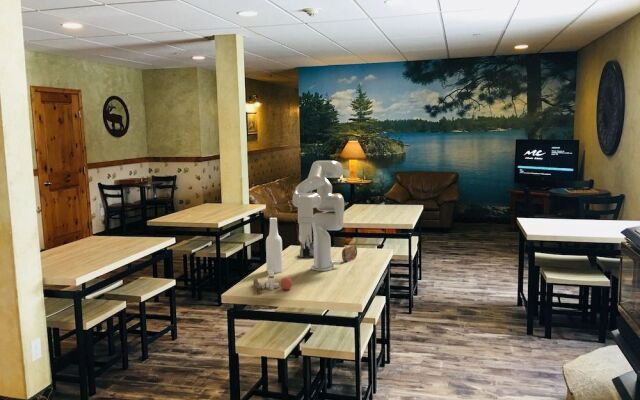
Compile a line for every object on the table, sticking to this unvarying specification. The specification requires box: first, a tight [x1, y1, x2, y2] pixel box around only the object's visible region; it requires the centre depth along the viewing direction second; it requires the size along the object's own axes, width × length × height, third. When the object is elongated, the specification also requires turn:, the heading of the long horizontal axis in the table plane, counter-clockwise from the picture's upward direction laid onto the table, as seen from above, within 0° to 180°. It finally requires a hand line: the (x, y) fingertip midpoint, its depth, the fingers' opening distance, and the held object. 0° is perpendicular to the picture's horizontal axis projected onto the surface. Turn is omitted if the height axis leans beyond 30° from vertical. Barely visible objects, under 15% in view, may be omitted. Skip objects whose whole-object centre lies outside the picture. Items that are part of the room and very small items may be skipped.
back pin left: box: [268, 272, 275, 291], centre depth 262 cm, size 2×2×8 cm
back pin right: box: [267, 270, 273, 284], centre depth 267 cm, size 2×2×8 cm
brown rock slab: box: [341, 244, 358, 263], centre depth 320 cm, size 15×3×8 cm, turn 148°
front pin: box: [260, 282, 280, 290], centre depth 265 cm, size 2×2×8 cm
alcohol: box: [265, 217, 284, 274], centre depth 295 cm, size 9×9×30 cm
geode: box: [299, 240, 314, 258], centre depth 335 cm, size 20×12×10 cm, turn 163°
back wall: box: [252, 278, 262, 295], centre depth 264 cm, size 2×16×3 cm, turn 13°
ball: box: [279, 276, 293, 291], centre depth 262 cm, size 6×6×6 cm
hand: (306, 255), depth 267 cm, fingers closed
